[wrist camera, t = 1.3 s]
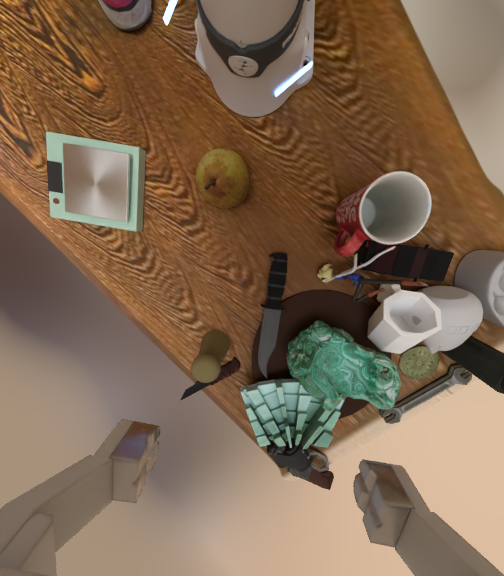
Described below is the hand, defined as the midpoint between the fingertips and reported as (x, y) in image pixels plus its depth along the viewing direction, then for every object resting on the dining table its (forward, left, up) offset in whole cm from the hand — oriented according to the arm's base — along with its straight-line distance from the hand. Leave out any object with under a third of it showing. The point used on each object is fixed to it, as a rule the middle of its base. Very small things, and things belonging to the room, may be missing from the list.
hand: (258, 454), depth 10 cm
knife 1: (+25, -9, -38) cm, 47 cm away
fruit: (-15, -9, -39) cm, 43 cm away
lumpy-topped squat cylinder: (-6, +42, -39) cm, 57 cm away
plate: (+15, +15, -39) cm, 44 cm away
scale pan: (-11, -31, -36) cm, 48 cm away
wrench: (+28, +32, -38) cm, 57 cm away
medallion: (+13, +36, -39) cm, 55 cm away
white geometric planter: (+6, +26, -37) cm, 46 cm away
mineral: (+15, +17, -36) cm, 42 cm away
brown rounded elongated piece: (+17, -7, -39) cm, 43 cm away
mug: (-12, +14, -39) cm, 43 cm away
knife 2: (+8, +1, -36) cm, 37 cm away
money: (+25, +12, -35) cm, 45 cm away
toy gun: (+35, +16, -40) cm, 56 cm away
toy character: (-3, +31, -33) cm, 46 cm away
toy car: (-7, +25, -39) cm, 47 cm away
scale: (-11, -32, -39) cm, 52 cm away
